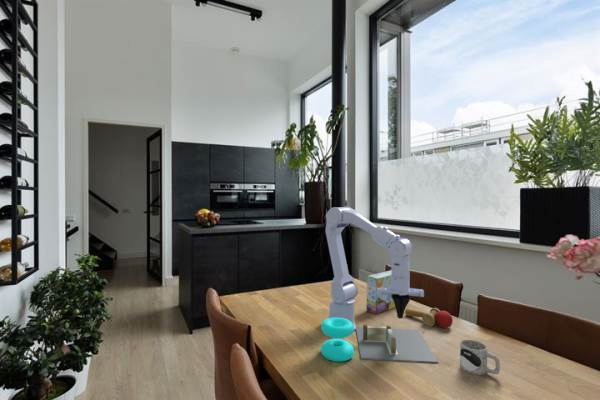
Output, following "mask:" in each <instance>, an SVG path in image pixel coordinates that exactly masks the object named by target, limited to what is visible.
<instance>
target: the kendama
mask: <svg viewBox="0 0 600 400" xmlns="http://www.w3.org/2000/svg"><path fill="white" fill-rule="evenodd" d="M404 314H405V316H406V317H415V318H421V320H422V322H423V323H424V325H426V326H428V325H429V327H433V326H434V325H437V326H438V327H440V328H443V329H448V328H450V327H451V326H452V324H453V316H452V315H451V313H450V312H449V311H446V310H440V309H439V308H437V307H434V308H431V309H430V311H429V312H425V311H420V310H417V309H412V308H408V307H406V308H405V311H404Z"/></svg>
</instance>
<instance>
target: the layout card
mask: <svg viewBox="0 0 600 400" xmlns="http://www.w3.org/2000/svg"><path fill="white" fill-rule="evenodd" d="M391 330H392V332H393V334H394V337H395V338H396V353H395V354H393V353H391V350H390V347H389V344H388V341H369V340H363V326H362V327H360V326H356V330H355V332H356V337H357V342H358V343H357V344H358V347H359V348H358V349H359V353H360V354H359V355H360V359H361V360H366V361H367V360H369V361H370V360H371V361H387V362H388V361H389V362H391V361H392V362H411V363H425V364H427V363H428V364H439V360H438V359H437V357H436V355H435V353H434V352H433V351H432V349H431V348H430V346H429V345H428V343H427V342H426V339H425V338H424V337H423V335H422V333H421V332H420V330H419V329H412V328H411V329H409V328H391Z"/></svg>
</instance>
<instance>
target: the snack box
mask: <svg viewBox="0 0 600 400" xmlns="http://www.w3.org/2000/svg"><path fill="white" fill-rule="evenodd" d="M366 277H367V278H366V310H365V311H366V312H369V313H371V314H374V315H378V314H380V313H383V312H386V311H390V310H391V309H396V307H395V304H394V301H393V299H392V296H391V295H378V294H377V288H385V287H391V269H390V270H386V271H383V272H379V273H374V274H369V275H367V276H366Z"/></svg>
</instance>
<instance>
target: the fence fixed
mask: <svg viewBox="0 0 600 400" xmlns="http://www.w3.org/2000/svg"><path fill="white" fill-rule="evenodd" d="M362 327H363V340H369V341H387V329H392V326H391V325H386V326H376V325H375V326H373V325H371V326H369V325H367V324H363V325H362Z"/></svg>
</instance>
